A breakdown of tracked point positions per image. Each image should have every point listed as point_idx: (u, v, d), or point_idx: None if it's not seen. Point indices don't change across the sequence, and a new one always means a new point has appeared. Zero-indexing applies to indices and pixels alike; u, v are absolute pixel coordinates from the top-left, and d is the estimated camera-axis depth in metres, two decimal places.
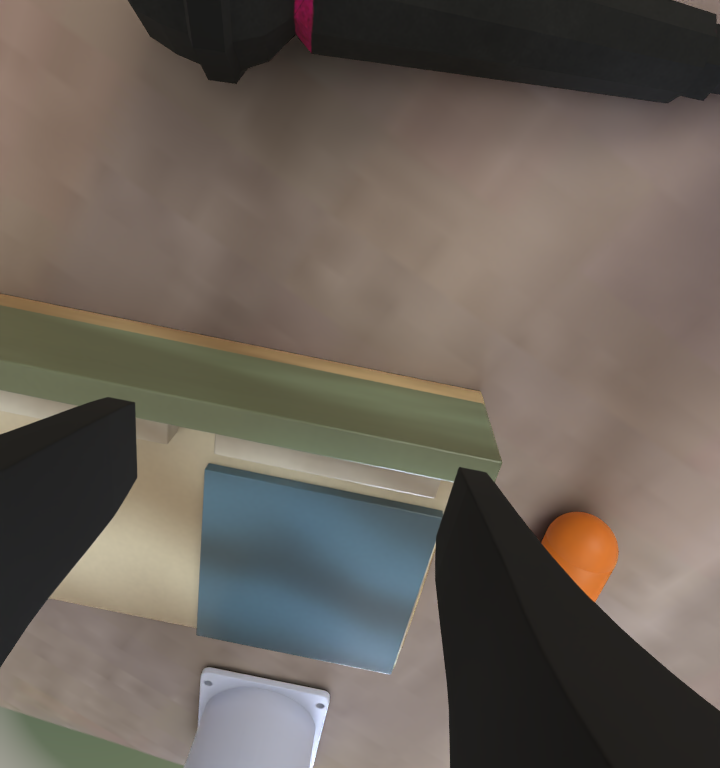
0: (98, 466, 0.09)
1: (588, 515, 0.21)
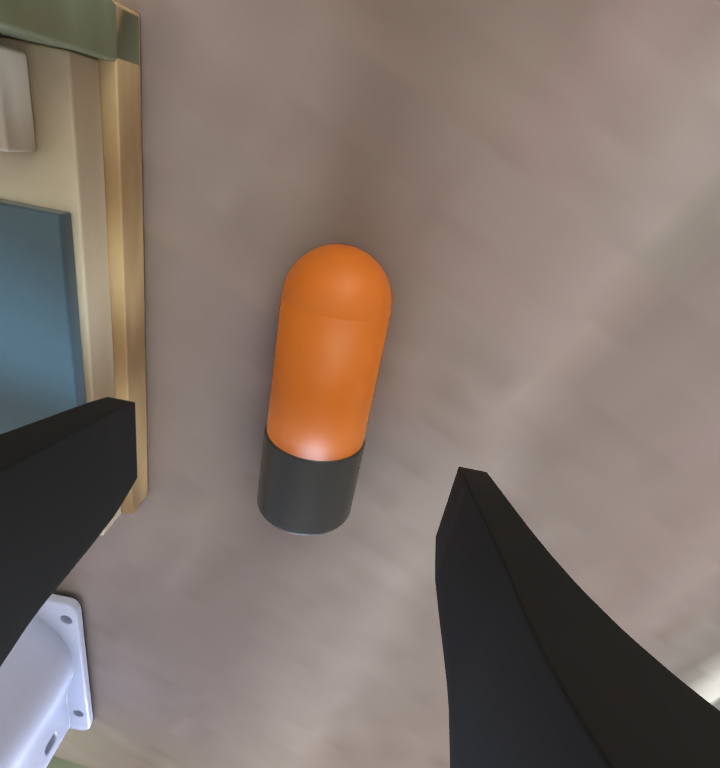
0: (98, 465, 0.09)
1: (344, 245, 0.13)
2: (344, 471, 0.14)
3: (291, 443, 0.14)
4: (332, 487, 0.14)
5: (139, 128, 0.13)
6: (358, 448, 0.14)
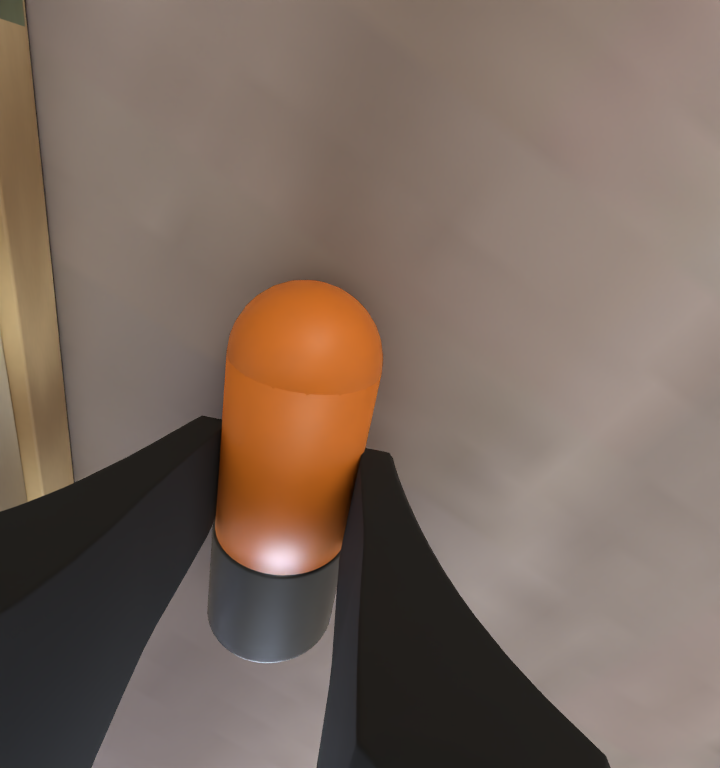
0: (201, 486, 0.09)
1: (316, 281, 0.09)
2: (316, 584, 0.11)
3: (240, 550, 0.10)
4: (299, 605, 0.11)
5: (32, 117, 0.09)
6: (335, 552, 0.11)
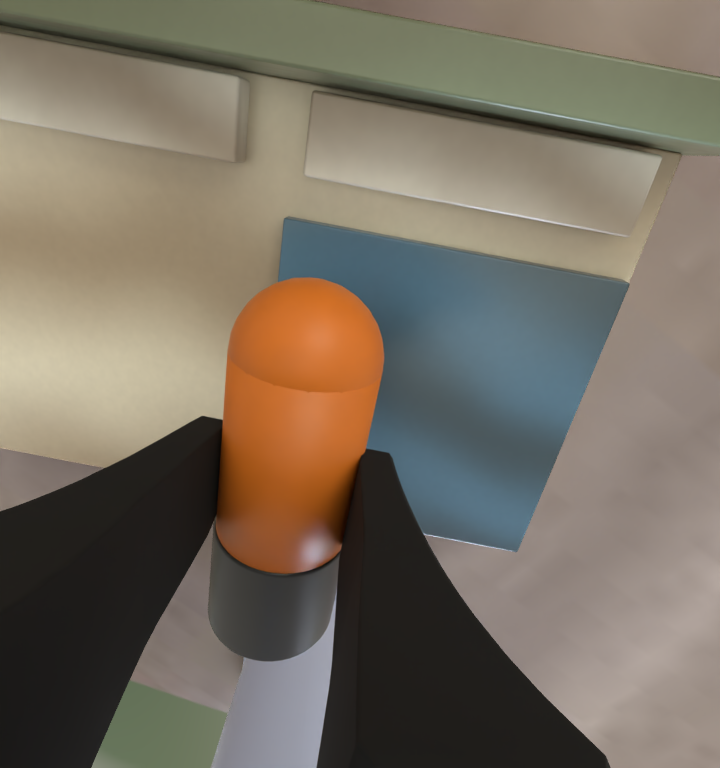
0: (202, 486, 0.09)
1: (318, 278, 0.09)
2: (317, 583, 0.11)
3: (241, 548, 0.10)
4: (299, 603, 0.11)
5: None
6: (336, 550, 0.11)
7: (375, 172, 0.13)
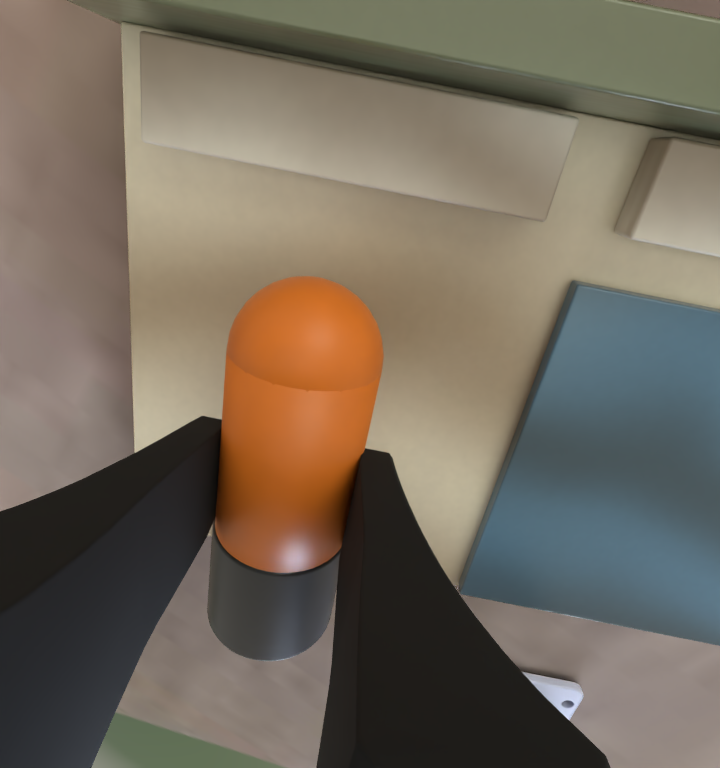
0: (202, 486, 0.09)
1: (317, 277, 0.09)
2: (316, 582, 0.10)
3: (241, 547, 0.10)
4: (299, 602, 0.10)
5: None
6: (336, 549, 0.11)
7: None
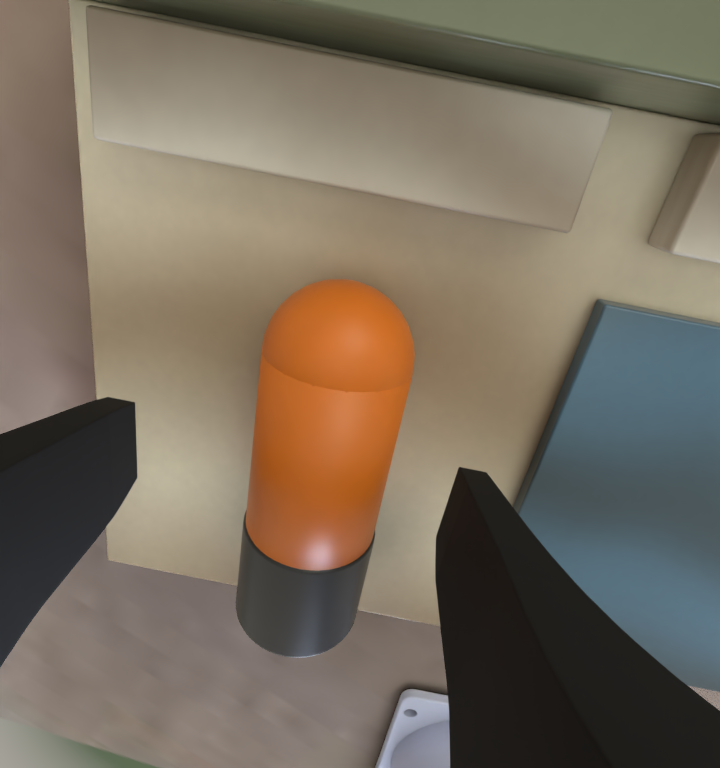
0: (98, 465, 0.09)
1: (341, 279, 0.09)
2: (363, 564, 0.11)
3: (301, 555, 0.10)
4: (351, 588, 0.11)
5: None
6: (374, 530, 0.11)
7: None
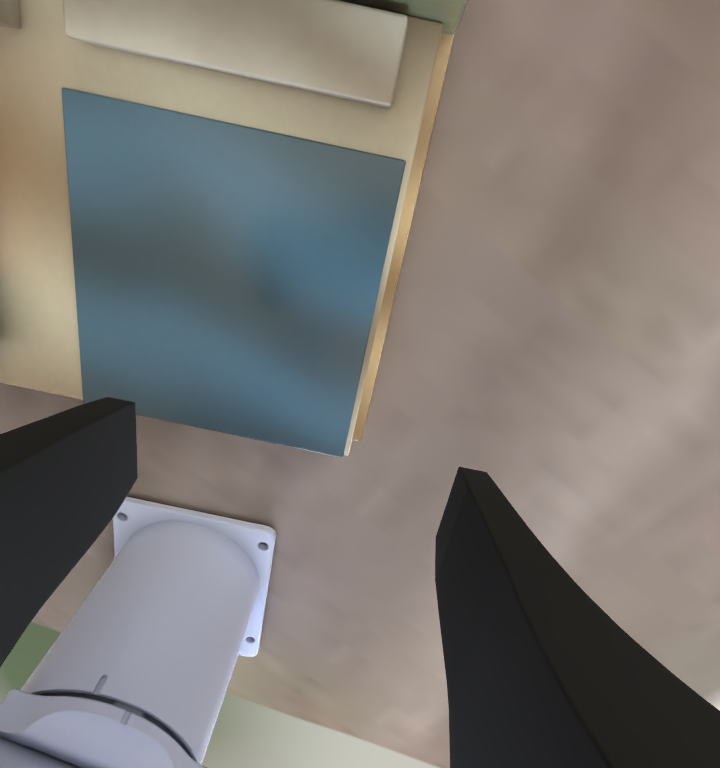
0: (98, 466, 0.09)
1: None
2: None
3: None
4: None
5: None
6: None
7: (133, 31, 0.13)
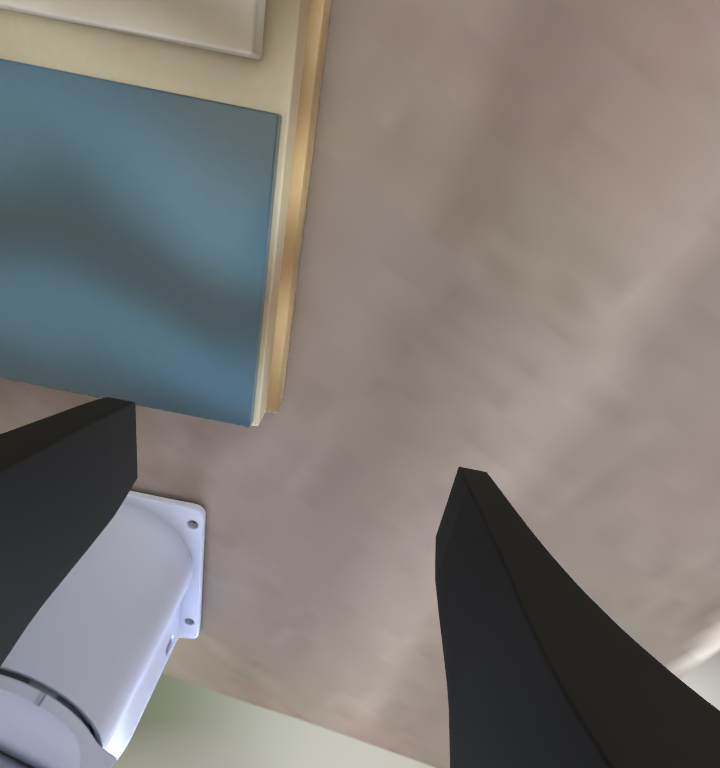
0: (98, 466, 0.09)
1: None
2: None
3: None
4: None
5: (324, 50, 0.15)
6: None
7: None
